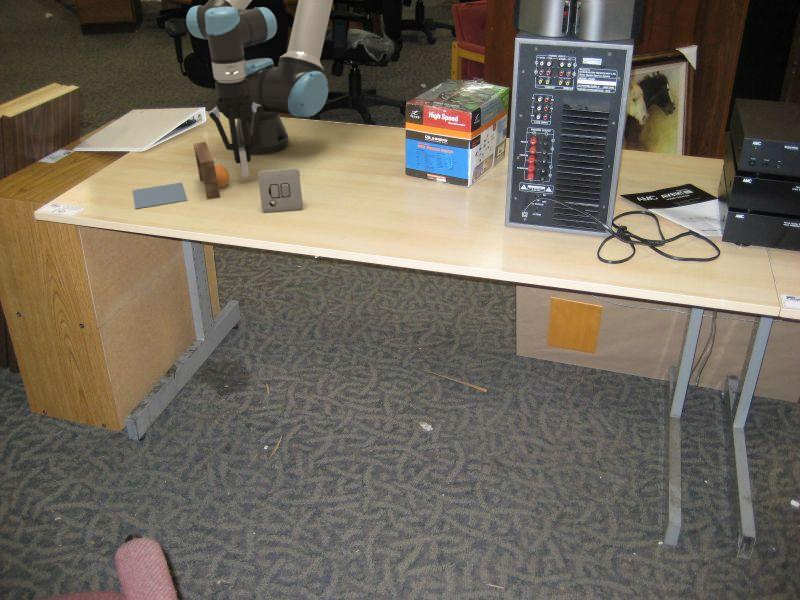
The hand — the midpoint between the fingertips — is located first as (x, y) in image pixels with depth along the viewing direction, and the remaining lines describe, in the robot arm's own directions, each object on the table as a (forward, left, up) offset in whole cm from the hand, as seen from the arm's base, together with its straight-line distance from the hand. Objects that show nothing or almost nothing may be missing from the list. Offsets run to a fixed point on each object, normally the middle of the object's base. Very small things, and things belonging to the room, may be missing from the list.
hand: (245, 174), depth 185 cm
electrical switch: (-5, +19, -2) cm, 20 cm away
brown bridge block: (+9, 0, -2) cm, 9 cm away
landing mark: (+21, 0, -2) cm, 21 cm away
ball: (+7, 0, +1) cm, 7 cm away
